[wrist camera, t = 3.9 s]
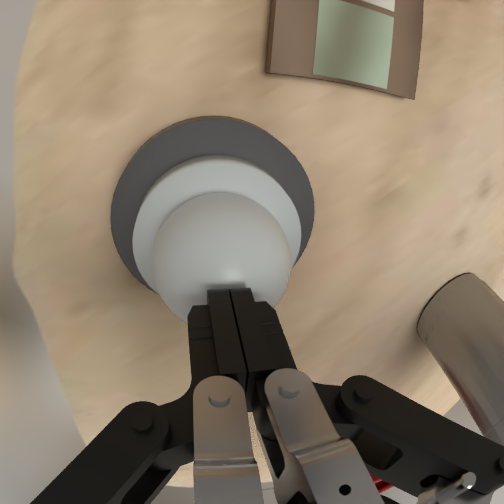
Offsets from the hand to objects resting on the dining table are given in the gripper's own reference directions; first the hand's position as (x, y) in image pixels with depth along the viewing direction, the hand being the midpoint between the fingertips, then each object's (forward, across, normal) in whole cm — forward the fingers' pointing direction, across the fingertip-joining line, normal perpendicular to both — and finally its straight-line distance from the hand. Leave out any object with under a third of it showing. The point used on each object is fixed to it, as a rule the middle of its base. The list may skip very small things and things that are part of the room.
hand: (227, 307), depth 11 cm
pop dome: (+6, 0, 0) cm, 6 cm away
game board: (+8, +7, +18) cm, 21 cm away
